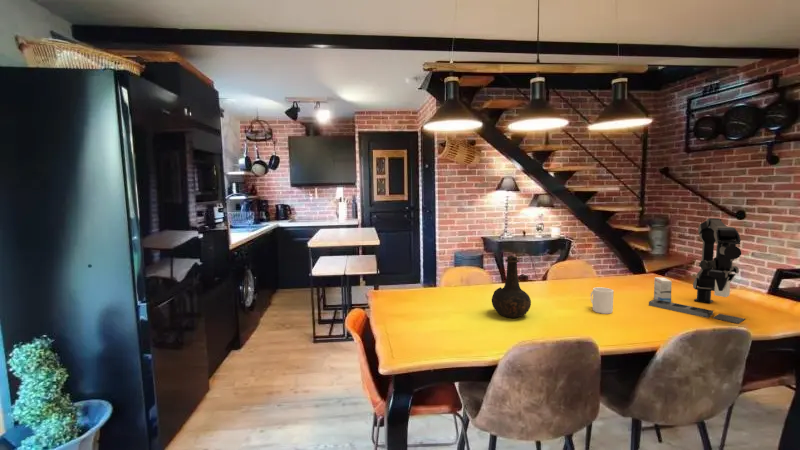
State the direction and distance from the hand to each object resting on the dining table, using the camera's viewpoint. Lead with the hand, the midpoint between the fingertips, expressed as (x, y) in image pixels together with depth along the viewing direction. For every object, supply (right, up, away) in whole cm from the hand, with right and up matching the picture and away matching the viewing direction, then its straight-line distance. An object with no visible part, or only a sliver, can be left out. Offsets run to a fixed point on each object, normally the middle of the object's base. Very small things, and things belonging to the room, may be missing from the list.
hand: (722, 290), depth 172 cm
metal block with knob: (0, -2, 0) cm, 2 cm away
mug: (-48, -12, +14) cm, 51 cm away
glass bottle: (-92, -13, +9) cm, 94 cm away
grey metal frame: (-10, -12, +13) cm, 20 cm away
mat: (+2, -13, -1) cm, 13 cm away
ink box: (-8, -11, +27) cm, 30 cm away
